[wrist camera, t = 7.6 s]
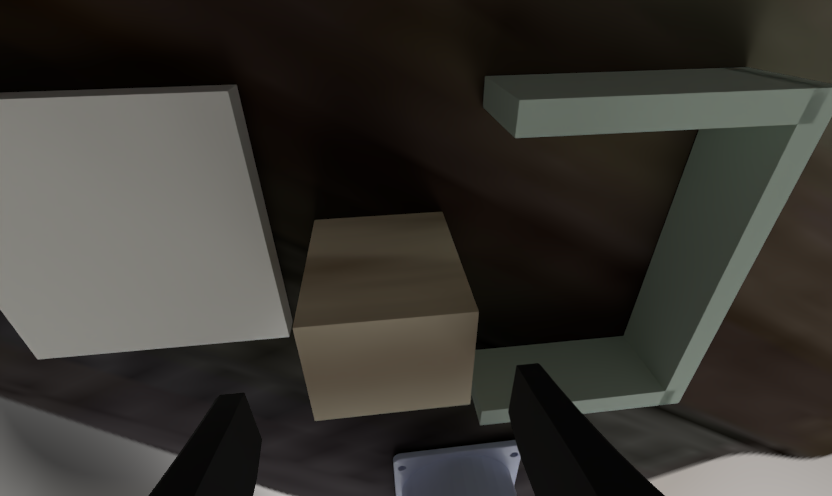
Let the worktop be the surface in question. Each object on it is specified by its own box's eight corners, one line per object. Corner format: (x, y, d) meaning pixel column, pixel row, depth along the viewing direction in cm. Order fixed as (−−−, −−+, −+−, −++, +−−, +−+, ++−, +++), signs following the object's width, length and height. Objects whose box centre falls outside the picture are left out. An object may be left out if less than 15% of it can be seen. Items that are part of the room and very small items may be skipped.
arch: (636, 347, 22) (678, 402, 19) (463, 364, 21) (479, 425, 18) (747, 67, 14) (847, 86, 11) (485, 75, 13) (519, 100, 11)
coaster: (292, 320, 18) (289, 336, 17) (53, 341, 17) (37, 359, 16) (236, 84, 13) (227, 91, 12) (-117, 96, 12) (-153, 105, 11)
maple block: (440, 290, 18) (470, 404, 13) (327, 299, 18) (315, 421, 13) (442, 211, 16) (479, 311, 11) (314, 219, 16) (292, 327, 11)
